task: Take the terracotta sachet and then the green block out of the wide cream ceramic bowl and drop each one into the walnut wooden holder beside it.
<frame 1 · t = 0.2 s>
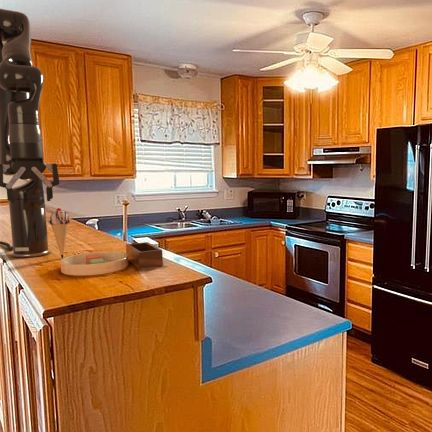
hand: (30, 201, 116), 17 cm above the countertop, tool pointing down, fingers open, 8 cm apart
green block: (97, 269, 109), resting on bowl
holder: (144, 264, 116), on the countertop
sachet a: (93, 264, 114), resting on bowl
ice cream cone: (62, 260, 122), on the countertop
bowl: (95, 268, 111), on the countertop
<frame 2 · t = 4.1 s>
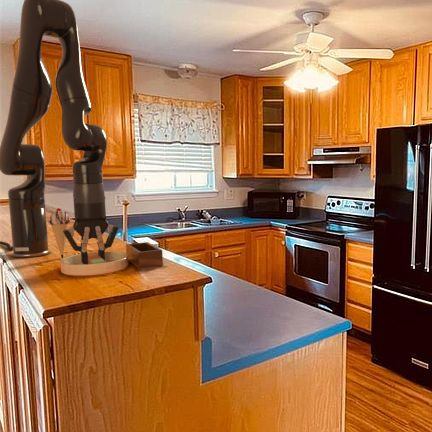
hand: (93, 264, 114), 1 cm above the countertop, tool pointing down, fingers closed on sachet a, 3 cm apart
sachet a: (93, 264, 114), point 1 cm above the countertop, touching bowl, gripper
everything else where it was.
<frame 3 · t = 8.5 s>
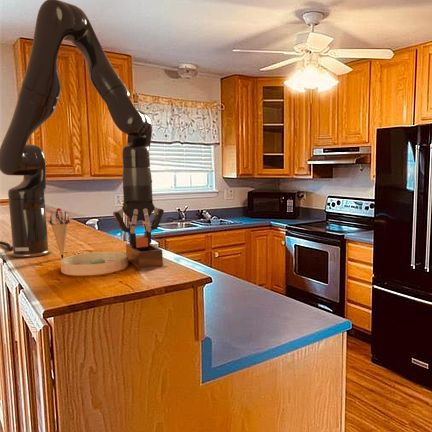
hand: (140, 245, 118), 5 cm above the countertop, tool pointing down, fingers closed on sachet a, 3 cm apart
sachet a: (140, 246, 118), point 5 cm above the countertop, touching gripper
everything else where it was.
when the fingers open (5 cm above the countertop, at t = 12.4 s): sachet a drops 4 cm, resting on holder.
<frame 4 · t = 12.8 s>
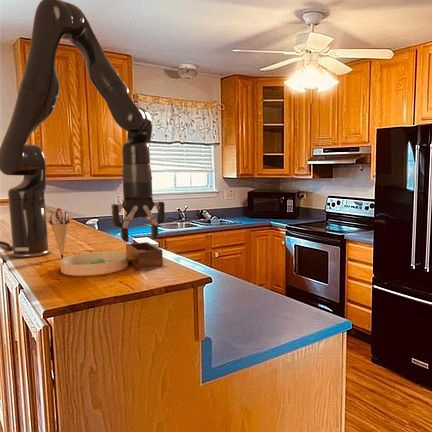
hand: (140, 239, 118), 6 cm above the countertop, tool pointing down, fingers open, 7 cm apart
sachet a: (140, 259, 119), point 1 cm above the countertop, touching holder
everything else where it was.
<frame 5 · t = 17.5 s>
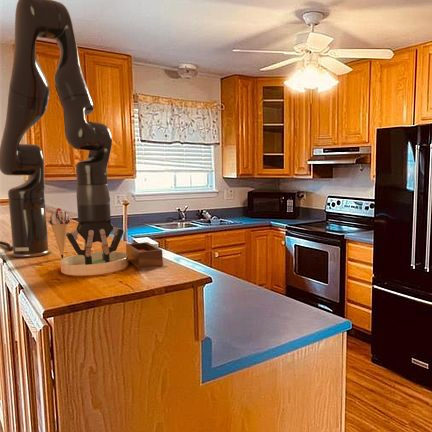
hand: (97, 268, 109), 1 cm above the countertop, tool pointing down, fingers closed on green block, 3 cm apart
green block: (97, 269, 109), point 1 cm above the countertop, touching bowl, gripper
everything else where it was.
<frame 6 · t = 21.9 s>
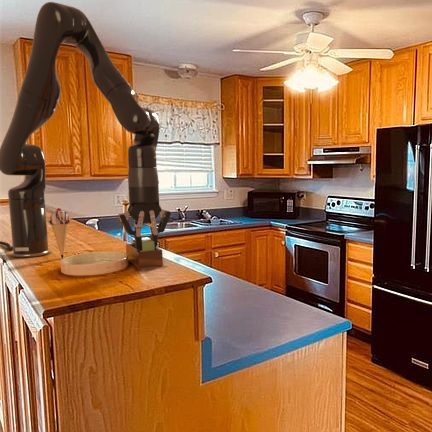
hand: (146, 249, 113), 5 cm above the countertop, tool pointing down, fingers closed on green block, 3 cm apart
green block: (146, 249, 113), point 5 cm above the countertop, touching gripper
everything else where it was.
when the fingers open (5 cm above the countertop, at t = 25.8 s): green block drops 4 cm, resting on holder.
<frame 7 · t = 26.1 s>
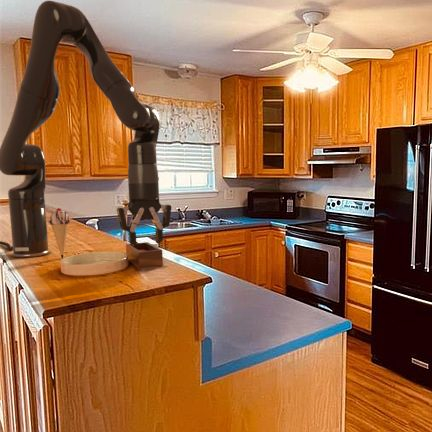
hand: (146, 244, 113), 6 cm above the countertop, tool pointing down, fingers open, 5 cm apart
green block: (147, 263, 114), point 1 cm above the countertop, touching holder
everything else where it was.
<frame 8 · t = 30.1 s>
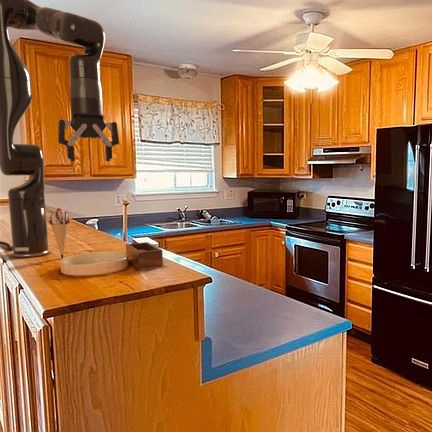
hand: (90, 161, 112), 28 cm above the countertop, tool pointing down, fingers open, 8 cm apart
nothing on the countertop moved.
at the end: sachet a inside the target area in the holder (3.0 cm from its centre), point 0.8 cm above the holder's base; green block inside the target area in the holder (3.0 cm from its centre), point 0.8 cm above the holder's base; the gripper is holding nothing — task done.
